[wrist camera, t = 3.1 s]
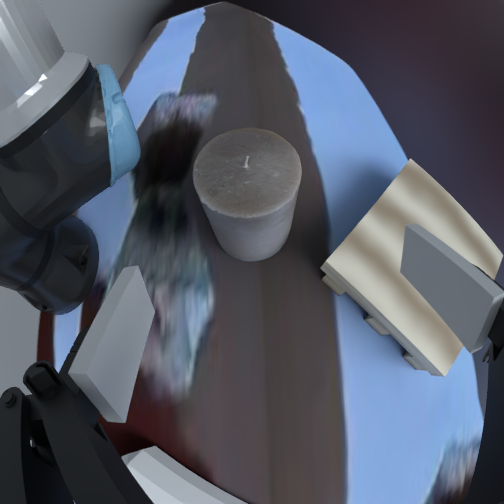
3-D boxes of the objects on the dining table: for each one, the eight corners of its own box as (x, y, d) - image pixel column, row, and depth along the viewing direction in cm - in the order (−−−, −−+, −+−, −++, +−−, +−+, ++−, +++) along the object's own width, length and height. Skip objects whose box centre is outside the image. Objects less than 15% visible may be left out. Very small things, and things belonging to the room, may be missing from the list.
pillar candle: (242, 182, 39) (231, 104, 25) (303, 216, 37) (324, 145, 23) (200, 238, 37) (164, 176, 22) (264, 278, 35) (264, 234, 21)
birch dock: (419, 373, 30) (444, 376, 24) (315, 274, 35) (325, 260, 29) (479, 266, 34) (503, 255, 28) (394, 180, 39) (410, 158, 33)
